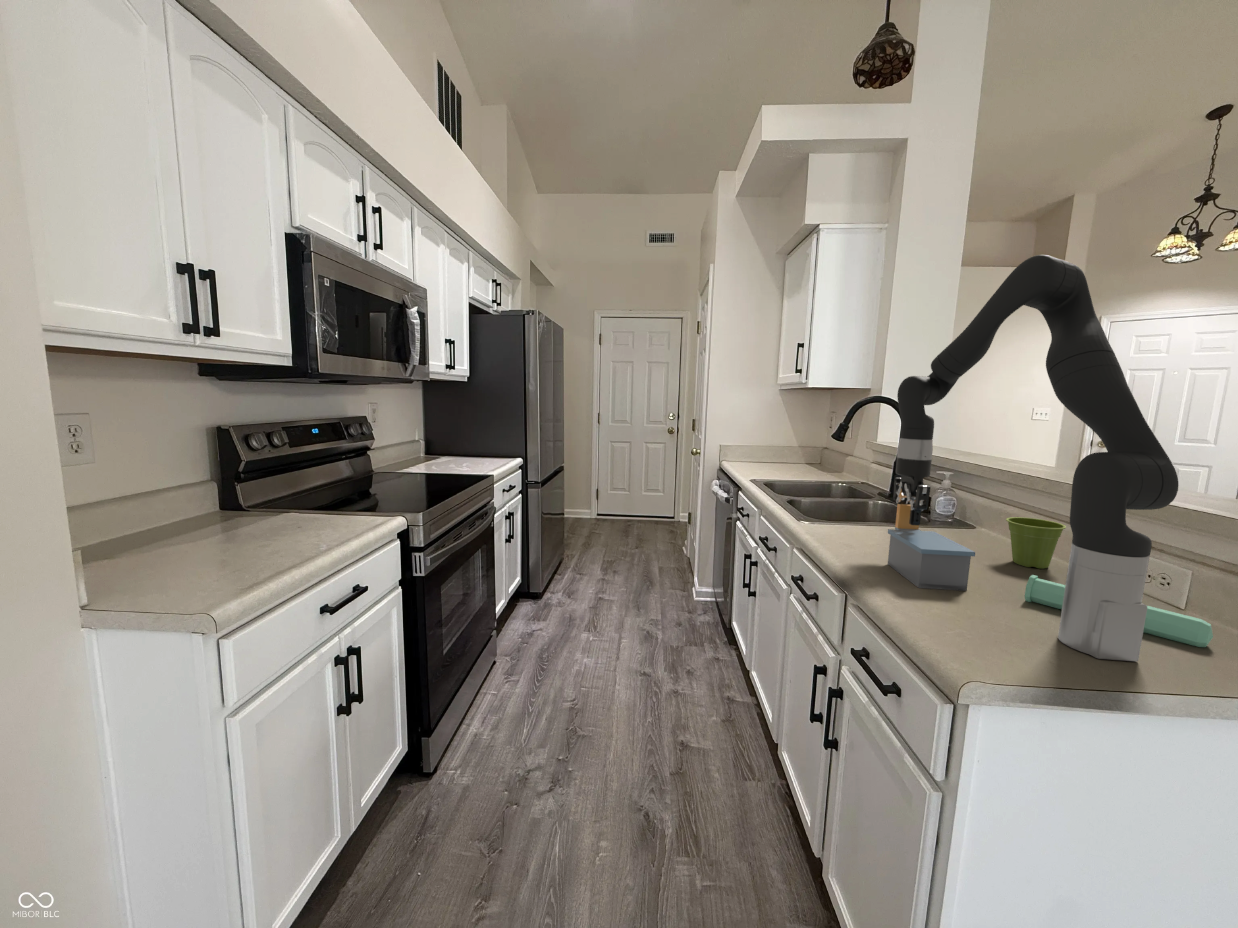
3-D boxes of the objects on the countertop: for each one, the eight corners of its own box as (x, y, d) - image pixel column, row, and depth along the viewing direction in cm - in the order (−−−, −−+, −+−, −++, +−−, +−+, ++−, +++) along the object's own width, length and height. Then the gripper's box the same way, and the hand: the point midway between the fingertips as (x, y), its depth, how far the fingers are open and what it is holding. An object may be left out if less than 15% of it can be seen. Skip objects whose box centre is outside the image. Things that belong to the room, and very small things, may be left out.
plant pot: (1007, 554, 136) (1012, 514, 135) (1064, 566, 127) (1070, 523, 126) (995, 562, 129) (1000, 520, 127) (1054, 575, 120) (1061, 530, 118)
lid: (974, 560, 107) (978, 524, 106) (920, 557, 108) (924, 522, 107) (927, 536, 126) (930, 505, 125) (882, 533, 127) (885, 503, 126)
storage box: (966, 590, 108) (970, 555, 107) (918, 587, 109) (922, 552, 108) (929, 566, 124) (932, 535, 123) (887, 564, 125) (890, 533, 124)
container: (1218, 613, 85) (1034, 569, 104) (1213, 634, 82) (1024, 584, 101) (1212, 639, 87) (1033, 591, 106) (1207, 660, 84) (1024, 607, 103)
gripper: (945, 460, 116) (938, 529, 118) (916, 454, 130) (909, 515, 132) (912, 459, 117) (905, 527, 119) (886, 453, 131) (880, 514, 133)
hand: (907, 521), depth 126 cm, fingers open, 6 cm apart
